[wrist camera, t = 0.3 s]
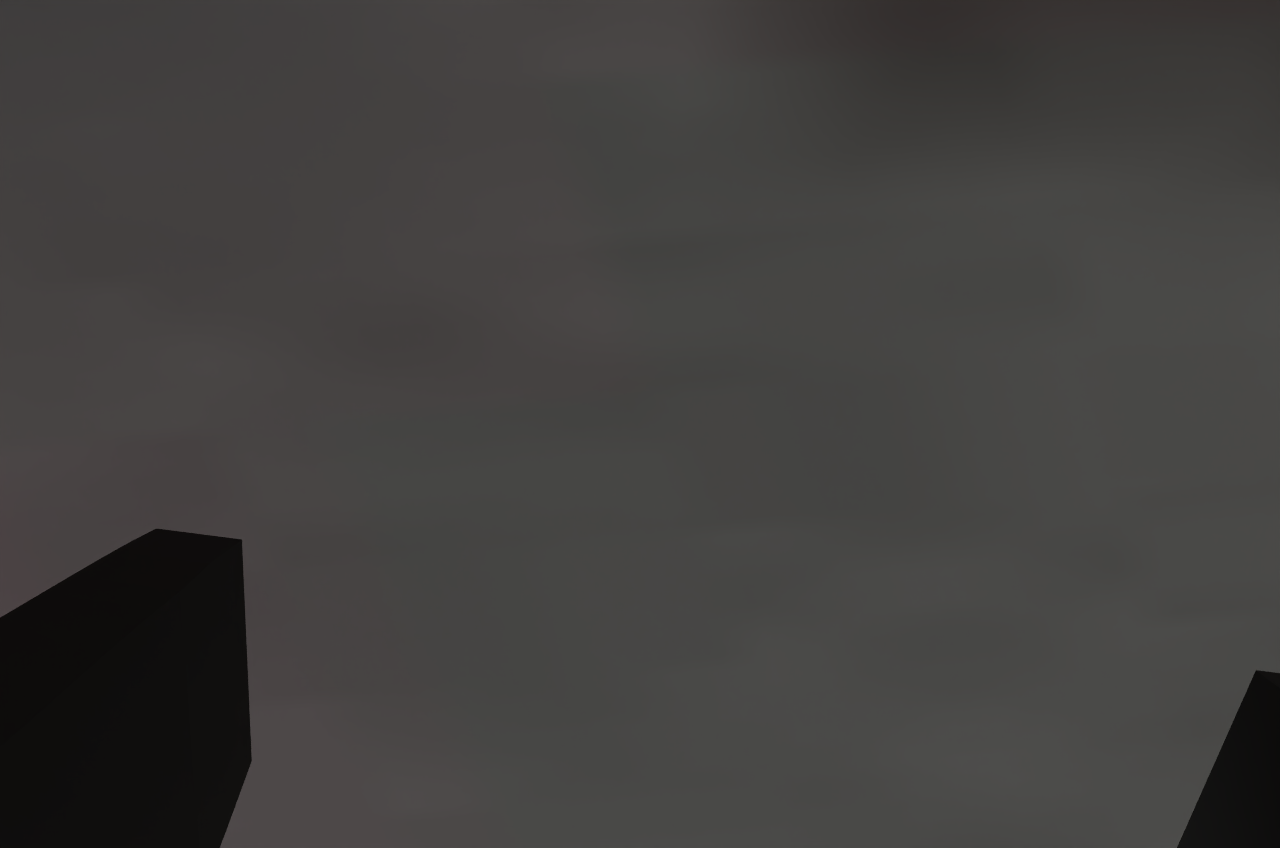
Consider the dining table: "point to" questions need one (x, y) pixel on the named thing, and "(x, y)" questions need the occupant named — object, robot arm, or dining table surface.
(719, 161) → the dining table surface
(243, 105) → the dining table surface
